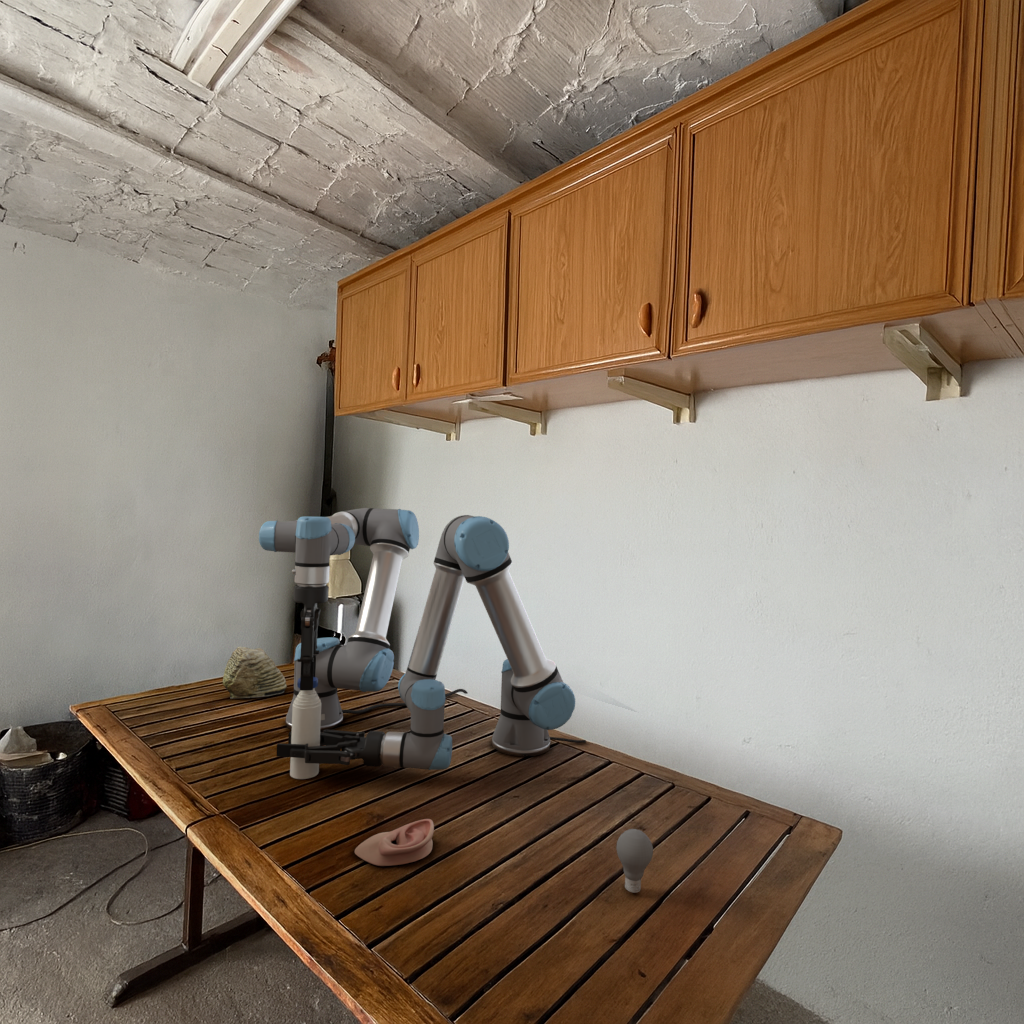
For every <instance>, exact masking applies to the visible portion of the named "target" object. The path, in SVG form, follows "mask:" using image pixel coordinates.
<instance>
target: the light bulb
mask: <svg viewBox="0 0 1024 1024" xmlns="http://www.w3.org/2000/svg"><path fill="white" fill-rule="evenodd" d="M615 849H616V854H617V857H618V859H619V861H620V863H621V865H622V867H623V873H624V874H623V875H624V876H625V878H624V888H625V890H627V891H628V892H630V893H634V894H635V893H639V892H640V891H641V889H642V887H641V886H642V879H643V877H644V875H645V871H646V868H647V867H648V866H649V864H650V863H651V861H652V859H653V855H654V847H653V843H652V841H651V838H649V836H648V835H647V834H646V833H645V832H643V831H642V830H641V829H636V828H629V829H627V830H625V831H623V832H622V833H621V834H620V835H619V837H618V839H617V841H616V847H615Z"/></svg>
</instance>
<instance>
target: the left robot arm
mask: <svg viewBox="0 0 1024 1024" xmlns="http://www.w3.org/2000/svg"><path fill="white" fill-rule="evenodd" d="M419 541H420V528H419V522H418V519H417V516H416V514H415V513H414V512H413V511H412V510H408V509H401V508H376V507H362V508H354V509H350V510H349V509H348V510H344V511H338V512H335V513H333V514H332V515H330V516H313V515H312V516H307V515H306V516H305V515H304V516H300V517H298V518H297V519H296V520H286V521H285V520H267V521H265V522H264V523H263V524H262V525H261V526H260V528H259V532H258V543H259V545H260V547H261V548H262V550H264V551H267V552H274V553H294V554H295V560H294V561H295V562H294V569H292V570H291V574H293V575H294V583H295V586H294V587H293V601H294V602H295V603H296V604H303V605H304V607H303V608H302V609H301V610H300V632H301V635H300V642H299V643H298V644H297V645H296V647H295V652H294V653H295V654H294V659H293V661H294V672H293V695H292V696H293V697H292V699H291V702H290V704H289V708H288V711H287V713H286V715H285V726H286V728H287V729H289V730H292V707H293V702H294V700H295V698H296V697H297V695H298V694H299V692H300V690H313V677H316V678H318V686H317V687H316V688H315V691H316V694H318V697H319V699H320V700H321V726H320V732H323V731H324V730H325V729H327V730H334V729H335V728H337V727H339V726H340V725H342V723H343V722H344V714H351V715H352V714H353V715H358V714H364V713H367V712H369V711H371V710H372V711H373V710H374V709H379V708H386V707H387V708H388V707H389V708H390V707H407V705H406V704H405V702H388V703H386V702H385V703H378V704H374V705H370V706H368V707H365V708H363V709H358V710H353V709H342V706H341V702H340V699H339V695H338V689H339V690H340V689H341V690H351V691H359V692H363V693H366V692H373V693H377V692H379V691H381V690H382V689H384V687H385V686H386V685H387V684H388V682H389V681H390V678H391V677H392V676H391V675H392V673H393V671H394V666H395V665H394V664H395V662H394V661H395V655H394V652H393V650H391V648H390V646H391V644H390V642H389V641H388V639H387V635H388V629H389V625H390V621H391V616H392V611H393V605H394V601H395V598H396V597H395V596H396V592H397V586H398V583H399V578H400V572H401V568H402V563H403V560H405V559H406V558H408V557H409V554H410V551H411V550H414V549H417V547H418V545H419ZM354 545H357V546H358V545H359V546H366V547H369V550H370V551H371V553H372V559H371V563H370V568H369V572H368V576H367V581H366V584H365V590H364V593H363V598H362V602H361V607H360V611H359V615H358V619H357V624H356V628H355V632H354V633H353V634H351V635H350V636H348V638H347V642H346V644H340V643H341V641H340V639H339V638H338V637H334V636H333V637H332V636H331V637H318V629H319V624H320V616H321V608H320V607H318V604H324V603H327V602H328V601H329V591H330V590H329V589H330V588H329V585H328V583H330V569H331V568H330V567H331V566H330V559H331V556H337V555H338V556H341V555H343V554H345V553H349V551H350V550H352V548H353V547H354ZM299 678H300V688H298V687H297V685H298V679H299ZM457 693H463V694H465V695H466V694H468V691H467V690H466V689H465V688H458V689H455V690H452V691H451V692H447V693H445V697H446V698H447V697H451V696H453V695H456V694H457Z"/></svg>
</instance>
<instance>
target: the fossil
mask: <svg viewBox="0 0 1024 1024" xmlns="http://www.w3.org/2000/svg"><path fill="white" fill-rule="evenodd" d="M222 676H223V677H222V685H223V687H224V688H225V690H226V691H228V693H229V698H230V699H250V698H264V697H271V696H275V695H281V694H284V693H285V691H286V689H287V687H288V686H287V680H286V678H285V676H284V674H283V673H282V672H281V669H279V668H278V667H277V665H276V663H275V662H274V660H273V659H272V658H271V657H270V656H269V655H268V654H267V653H266V652H265V650H264V649H263V648H260V647H258V648H251V647H247V646H246V647H245V646H238V647H237V648H236V649H235V650H233V651H232V653H231V656H230V657H229V659H228V660H227V663H226V666H225V668H224V671H223V675H222Z"/></svg>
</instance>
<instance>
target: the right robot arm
mask: <svg viewBox="0 0 1024 1024" xmlns="http://www.w3.org/2000/svg"><path fill="white" fill-rule="evenodd" d="M437 545H438V546H437V549H436V553H435V557H434V560H433V565H434V568H435V571H434V574H433V578H432V581H431V585H430V588H429V591H428V595H427V598H426V602H425V606H424V609H423V612H422V616H421V620H420V622H419V626H418V629H417V632H416V633H417V634H416V636H415V639H414V644H413V647H412V650H411V654H410V657H409V660H408V664H407V667H406V671H405V673H404V674H402V676H401V677H400V679H399V680H398V684H397V689H398V695H399V697H400V699H401V700H402V701H403V703H405V704H406V705H407V706H406V707H407V710H408V711H409V712H410V727H409V729H410V730H409V732H403V731H387V732H384V731H381V730H380V731H378V730H370V731H368V732H367V733H365V731H349V730H337V729H329V730H327V729H325V730H324V731H320V746H313V747H308V744H305V745H303V744H291V734H292V731H289V732H288V741H287V743H283V742H282V743H281V742H277V743H276V755H275V756H276V757H278V758H291V757H295V758H305V763H316V764H319V765H324V764H325V765H343V766H350V765H351V761H354V760H362V761H363V765H364V766H366V767H374V768H375V767H377V768H379V767H381V766H383V767H384V768H393V769H394V770H397V769H398V768H399V769H400V768H401V769H417V770H428V771H441V770H447V769H448V768H449V767H450V766H451V762H452V756H453V737H452V735H450V734H446V733H445V730H444V727H445V726H444V725H445V708H446V707H445V706H446V700H447V697H445V694H446V687H445V684H444V683H443V681H439V680H437V676H438V671H439V669H440V665H441V660H442V657H443V654H444V651H445V647H446V644H447V641H448V637H449V634H450V632H451V631H450V630H451V627H452V623H453V620H454V617H455V613H456V610H457V607H458V603H459V600H460V597H461V594H462V589H463V586H464V583H465V581H466V582H467V584H470V585H473V586H474V587H475V588H476V590H477V592H478V595H479V597H480V599H481V602H482V604H483V606H484V608H485V611H486V613H487V615H488V618H489V620H490V622H491V624H492V627H493V629H494V631H495V633H496V636H497V638H498V640H499V643H500V645H501V647H502V649H503V653H504V654H505V657H506V659H505V660H503V661H502V668H501V671H500V672H501V685H500V686H501V687H500V712H499V713H500V714H499V718H498V719H497V722H496V726H495V728H494V731H493V732H492V733H493V734H492V739H491V745H492V747H493V748H494V749H495V750H496V751H498V752H500V753H502V754H505V755H509V756H513V757H535V756H539V755H544V754H546V753H547V752H549V750H550V748H551V741H560V742H567V743H573V744H586V743H587V740H586V739H572V738H571V739H570V738H566V737H565V738H564V737H557V736H550V733H549V731H553V730H556V729H560V728H561V727H562V726H564V725H565V724H566V723H568V722H569V720H570V719H571V718H572V716H573V713H574V711H575V708H576V697H575V696H576V695H575V693H574V691H573V690H572V688H571V687H570V685H569V684H567V683H566V682H564V680H563V679H562V676H561V673H560V671H559V669H558V667H557V664H556V662H555V660H552V659H550V658H547V656H546V654H545V652H544V650H543V647H542V645H541V643H540V640H539V637H538V636H537V634H536V630H535V629H534V626H533V624H532V622H531V619H530V616H529V614H528V612H527V610H526V607H525V604H524V602H523V601H522V598H521V596H520V593H519V590H518V588H517V586H516V584H515V581H514V579H513V577H512V574H511V571H510V569H511V567H512V565H513V561H512V558H511V555H510V554H509V553H510V552H509V550H510V541H509V537H508V534H507V532H506V531H505V528H504V527H503V526H501V524H500V523H498V522H497V521H496V520H493V519H492V518H489V517H488V516H487V517H486V516H482V515H481V516H480V515H477V516H474V515H470V514H464V515H458V516H456V517H453V518H452V519H451V520H450V521H449V522H448V523H447V524H446V525H445V527H444V528H443V530H442V532H441V535H440V539H439V542H438V544H437ZM365 735H366V736H365Z"/></svg>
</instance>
